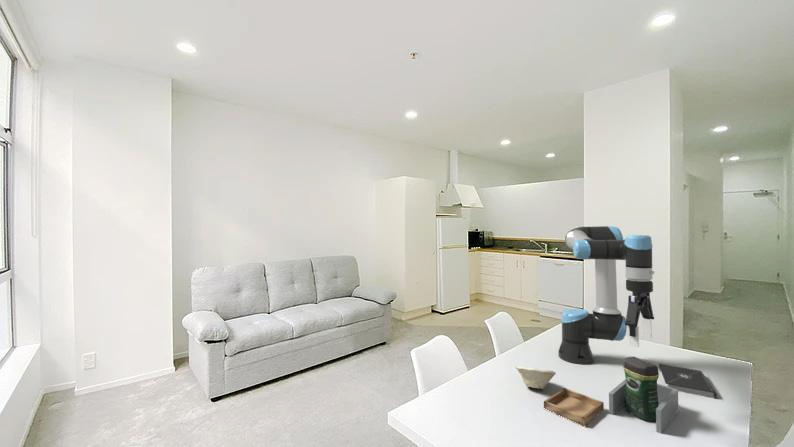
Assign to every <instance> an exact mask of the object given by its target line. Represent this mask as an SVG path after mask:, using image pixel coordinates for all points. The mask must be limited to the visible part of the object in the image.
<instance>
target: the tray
mask: <svg viewBox="0 0 794 447" xmlns="http://www.w3.org/2000/svg"><path fill="white" fill-rule="evenodd" d="M604 404H605V403H604V401H601V400H599V399H595V398H593V397H591V396H588V395H584V394H583V393H579V392H576V391H574V390H571V389H568V388H566V387H563V388H562V389H560V390H559V391H557V392H556V393H555V394H553V395H551V396H549V397H548V398H547V399H545V400H544V401H543V409H544V408H545V409H547V410H549V411H551V412H550V413H552V412H554V413H556V414H558V415H557V416H559V415H560V416H559V417H561V416H562V417H561V418H563V417H564V418H563V419H565V418H567V419H566V420H568V419H569V420H568V421H570V420H571V421H570V422H572V421H574V422H573V423H575V422H576V423H575V424H577V423H578V424H577V425H579V424H580V425H579V426H581V425H582V427H584V426H585V427H586V426H587V425H589V424H590V423H591V422H592V421H593V420H594V419H595V418H596V417H598V416H597V415H598V414H599V415H600V414H601V413H602V412H603V411H604V410H605V409H604V407H605V406H604ZM545 409H544V410H545ZM547 410H546V411H547ZM549 411H548V412H549ZM554 413H553V414H554ZM556 414H555V415H556ZM590 421H591V422H590ZM589 422H590V423H589ZM588 423H589V424H588Z"/></svg>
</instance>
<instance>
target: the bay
mask: <svg viewBox="0 0 794 447" xmlns="http://www.w3.org/2000/svg"><path fill="white" fill-rule="evenodd" d="M625 384H626V378H625V379H623V381H621V382H620V383H619V384H617V386H616V387H614V388H613V389H612V390H610V391H609V392H608V410H609V411H608V412H609V414H610V415H612V416H613V415H615V414H616V413H617V412H618V411H619V410H620V409H621V408H622V407H623V406H624V401H625ZM657 393H658V402H659V406H658V407H657V408H656V420H655V422H656V423H655V428H656V430H655V431H656V432H657V433H660V434H662V432H663V431H664V430H665V429H666V427H667V426H668V425H669V424H670V422H671V421H672V419H673V418H674V416H675V415H676V413H678V411H679V391H678V389H674V388H671V387H668V386H667V385H663V384H660V383H657Z"/></svg>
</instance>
